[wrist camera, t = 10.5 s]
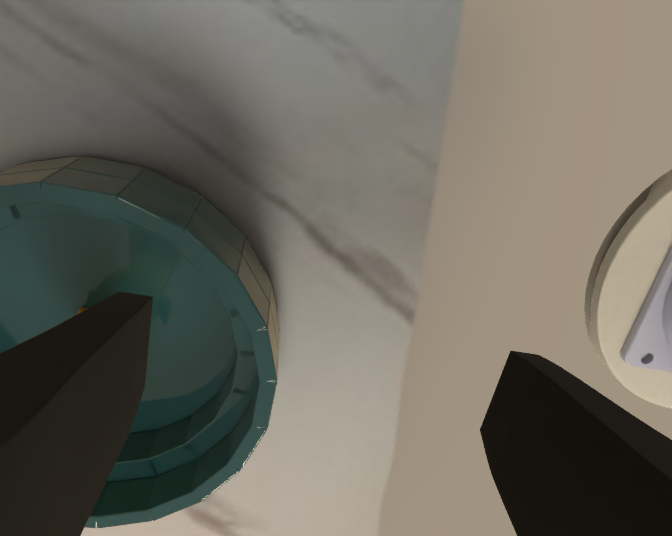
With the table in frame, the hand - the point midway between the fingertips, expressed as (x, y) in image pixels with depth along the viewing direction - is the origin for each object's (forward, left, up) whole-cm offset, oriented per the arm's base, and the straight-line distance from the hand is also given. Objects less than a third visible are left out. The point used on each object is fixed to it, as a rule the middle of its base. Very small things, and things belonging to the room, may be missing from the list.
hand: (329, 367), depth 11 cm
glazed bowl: (+7, +6, -10) cm, 14 cm away
